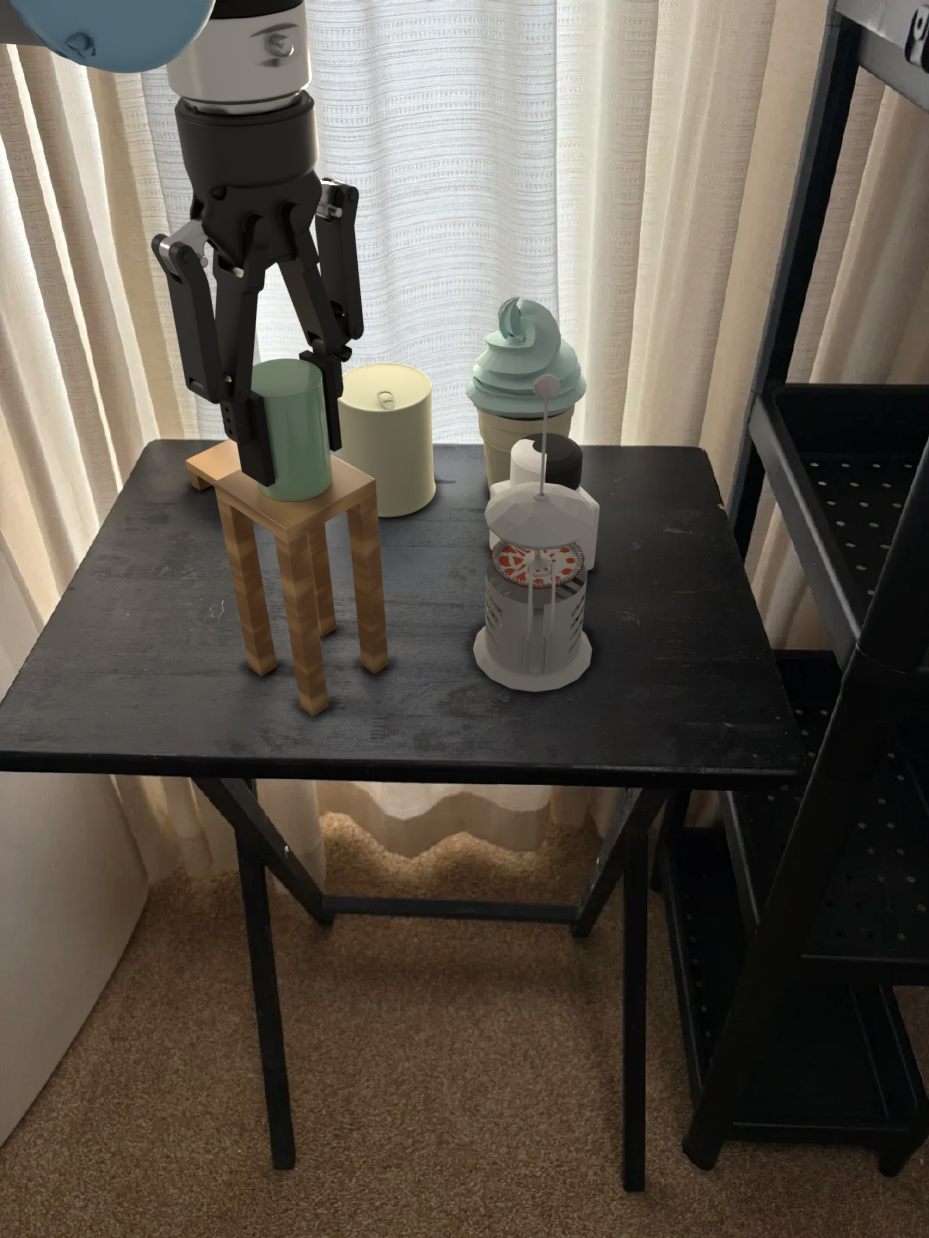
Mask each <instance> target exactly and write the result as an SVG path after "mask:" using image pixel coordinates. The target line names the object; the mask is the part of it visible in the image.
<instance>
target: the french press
mask: <svg viewBox="0 0 929 1238" xmlns="http://www.w3.org/2000/svg"><path fill="white" fill-rule="evenodd" d="M533 392H534V394H535V395H537V396H539V397H542V398H545V404H544V423H543V442H542V461H541V480H540V482H528V483H523V484H519V485H516V486H513V487H511V488H508V489H505V490H503V491H500V492H499V493H498V494H497V495H496V496H494V497H493V498H492V499H491V500H490V499H489V501H488V502H487V505H486V507H485V510H484V513H483V514H484V518H485V520H486V523H487V527H488V528H489V531H490V530H491V531H492V532H493V533H495V534H496V535H497V536H498V537H499V538H500V539H501V540H500V541H499V542H498V543H497V544H496V545H495V546H494V547H493V550H491V554H490V560H489V562H488V565H487V567H486V570H485V582H484V583H485V586H486V588H485V589H484V592H485V599H486V601H485V602H484V608H485V609H484V610H485V614H484V622H485V625H484V626H483V627H482V628H481V630H479V631H478V632H477V634H476V637H475V641H474V645H473V647H472V651H473V654H474V658H475V661H476V665H477V666H478V667H479V669H480V670H481V671H483V672H484V673H485V675H487V677H488V678H489V679H490V680H492V681H494V682H496V683H499V684H501V685H502V686H505V687H507V688H509V689H512V690H519V691H526V692H533V693H537V692H545V691H551V690H558V689H561V688H563V687H565V686H567V685H569V684H570V683H573V682H575V681H577V680H579V678H580V677H581V676H582V675H583V674H584V672H586V670H587V669H588V668H589V667H590V665H591V658H592V652H593V648H592V646H591V643H590V641H589V638H588V636H587V634H586V632H585V631H583V624H584V612H585V602H586V601H585V600H586V592H587V591H586V590H587V582H588V571H587V570H586V568H585V566H584V559H585V557H584V555H583V552H582V550H581V548H580V546H579V545H577V544H576V543H575V542H576V541H578V540H579V539H581V538H582V537H583V536H584V535H585V534H586V533H587V532H588V531H589V530H590V529H591V528H592V527H593V523H594V518H595V513H594V510H593V508H592V506H591V504H590V502H589V501H588V500H587V499H585V498H584V497H583V496H582V495H580V494H579V493H578V492H577V491H574V490H572V489H569V488H567V487H565V486H562V485H558V484H549V483H544V466H545V448H546V431H547V413H548V398H553V397H556V396H558V395H559V394H560V392H561V383H560V380H559V379H557V378H556V377H554V376H553V375H551V374H550V373H548V374H544V375H540V376H539V377H538V378H537V379H535V381H534V383H533ZM497 575H499V576H500V578H499V579H497V580H495V581H493V582H492V583H491V582H490V580H491V579H492V578H494V577H496V576H497ZM575 578H576V579H578V580H580V581H581V582H582V583H584V584H583V585H582V586H581V585H579V584H577V583H575V582H574V581H573V580H574V579H575ZM506 582H508V583H509V584H508V585H507V586H506V585H505V587H503V588H501V589H500V590H496V589H497V588H498V587H500V586H502V585H503V584H505V583H506ZM563 585H565V586H567V587H569V588H570V589H571V590H574V591H575V592H576V593H575V594H572V593H571V592H569V591H567V590H566V589H565V588H562V587H561V586H563ZM507 593H509V596H508V597H507V596H505V594H507ZM556 593H558V594H559V595H562V596H563V597H564V598H565V599H563V600H562V599H560V598H559V597H557V596H556ZM489 595H490V596H489ZM583 597H584V598H583ZM493 602H494V603H495V605H494V604H493ZM488 606H489V607H488ZM578 606H579V607H578ZM577 607H578V609H577ZM499 609H500V611H501V612H499V611H498V610H499ZM582 609H583V610H582ZM492 614H493V615H494V617H493V615H492ZM577 618H578V619H577ZM488 619H489V620H488ZM576 619H577V620H576Z"/></svg>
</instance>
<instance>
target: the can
mask: <svg viewBox="0 0 929 1238" xmlns="http://www.w3.org/2000/svg"><path fill="white" fill-rule="evenodd" d="M342 376H343V386H344V390H343V395H342V397H340V398H338V410H339V420H340V430H341V440H342V448H341V449H339V454H340V460H342V461H344V462H346V463H347V464H349V465H351V466H353V467H355V468H356V469H358V470H360V471H362V472H363V473H365V474H367V475H369V476H370V477H372V478H374V479H375V480H376V492H377V493H376V494H377V508H378V518H395V517H402V516H407V515H410V514H413V513H415V512H418V511H419V510H421V509H423V508H424V507H426V506H427V505H429V503H431V501H432V500H433V498H434V497H435V495H436V494H435V493H436V490H437V489H436V487H437V486H436V482H435V475H434V473H435V472H434V452H433V451H434V450H433V408H432V407H433V405H432V404H433V403H432V397H433V395H432V393H433V383H432V380H431V379H430V377H429V375H427V374H426V373H425V372H424V371H422V370H421V369H418V368H417V367H414V366H411V365H407V364H403V363H397V362H374V363H368V364H363V365H359V366H356V367H354V368H351V369H349V370H347V371H345V372H344V373H342Z"/></svg>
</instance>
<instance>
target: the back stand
mask: <svg viewBox="0 0 929 1238" xmlns="http://www.w3.org/2000/svg"><path fill="white" fill-rule="evenodd" d="M184 461H185V466H186V469H187V470H188V473H189V478H190V483H191V486H192V487H194V488H195V489H196V490H198V491H200V492H201V491H203V490H206V489H207V488H209V487H211V486H213V487H215V486H214V482H215V481H217V480H219V479H221V478H223V477H225V476H227V475H229V474H231V473H233V472H235V471H237V470H239V469H241V465H240V459H239V453H238V447H237V443H236V442H234V441H233V440H231V439H229V438H228V439H226V440H224V441H222V442H220V443H218V444H216V445H214V446H212V447H210V448H208V449H206V450H204V451H201V452H200V453H197V454H195V455H192V456H191V457H188V458H187V459H185V460H184Z"/></svg>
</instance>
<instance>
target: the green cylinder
mask: <svg viewBox="0 0 929 1238" xmlns="http://www.w3.org/2000/svg"><path fill="white" fill-rule="evenodd" d="M251 390H252V391H254V392H256V393H258V394H260V395H262V396H263V401H264V408H265V414H266V421H267V428H268V434H269V441H270V448H271V455H272V461H273V468H274V475H275V481H276V483H275V484H273V485H271V486H269V487H265V486H263V485H262V484H260V483H259V482H258V487H259V489H260V490H261V492H262V493H263V494H265V495H266V496H268V497H270V498H272V499H275V500H279V501H287V502H294V501H303V500H307V499H311V498H314V497H316V496H318V495H320V494H322V493H323V492H325V491H326V490H327V489H328V488H329V487H330V485H331V483H332V480H333V473H332V463H331V454H332V453H331V450H330V444H329V434H328V425H327V415H326V406H325V396H324V386H323V377H322V372H321V370H320V369H319V368H318V367H317V366H316V365H314V364H313V363H310V362H308V361H305V360H300V359H299V358H293V357H292V358H291V357H290V358H289V357H288V358H287V357H285V358H282V357H281V358H274V359H269V360H265V361H261V362H259V363H257V364H253V371H252V384H251Z"/></svg>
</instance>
